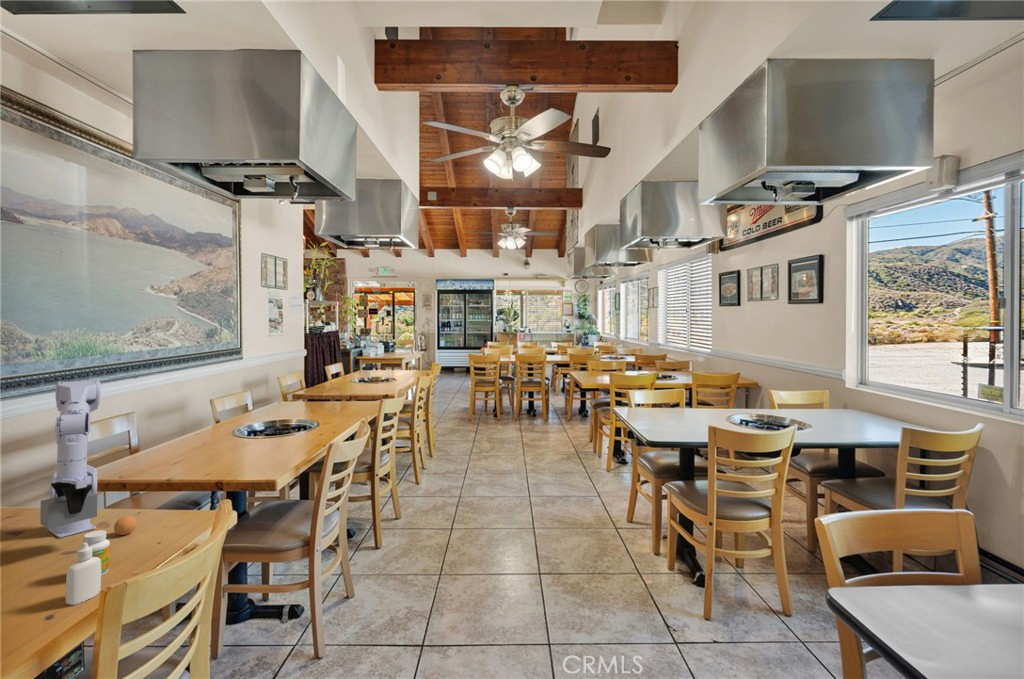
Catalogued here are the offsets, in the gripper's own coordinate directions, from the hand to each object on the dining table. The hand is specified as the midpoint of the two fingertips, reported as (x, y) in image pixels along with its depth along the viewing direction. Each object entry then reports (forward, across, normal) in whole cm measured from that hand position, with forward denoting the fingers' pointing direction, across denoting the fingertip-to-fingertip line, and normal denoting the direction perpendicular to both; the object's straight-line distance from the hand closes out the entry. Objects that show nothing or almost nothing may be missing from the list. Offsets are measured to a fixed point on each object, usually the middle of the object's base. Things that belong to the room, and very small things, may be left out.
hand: (70, 510), depth 120 cm
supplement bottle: (+11, +21, -1) cm, 24 cm away
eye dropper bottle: (+11, +32, -6) cm, 34 cm away
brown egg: (+8, 0, +12) cm, 14 cm away
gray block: (+2, 0, 0) cm, 3 cm away
